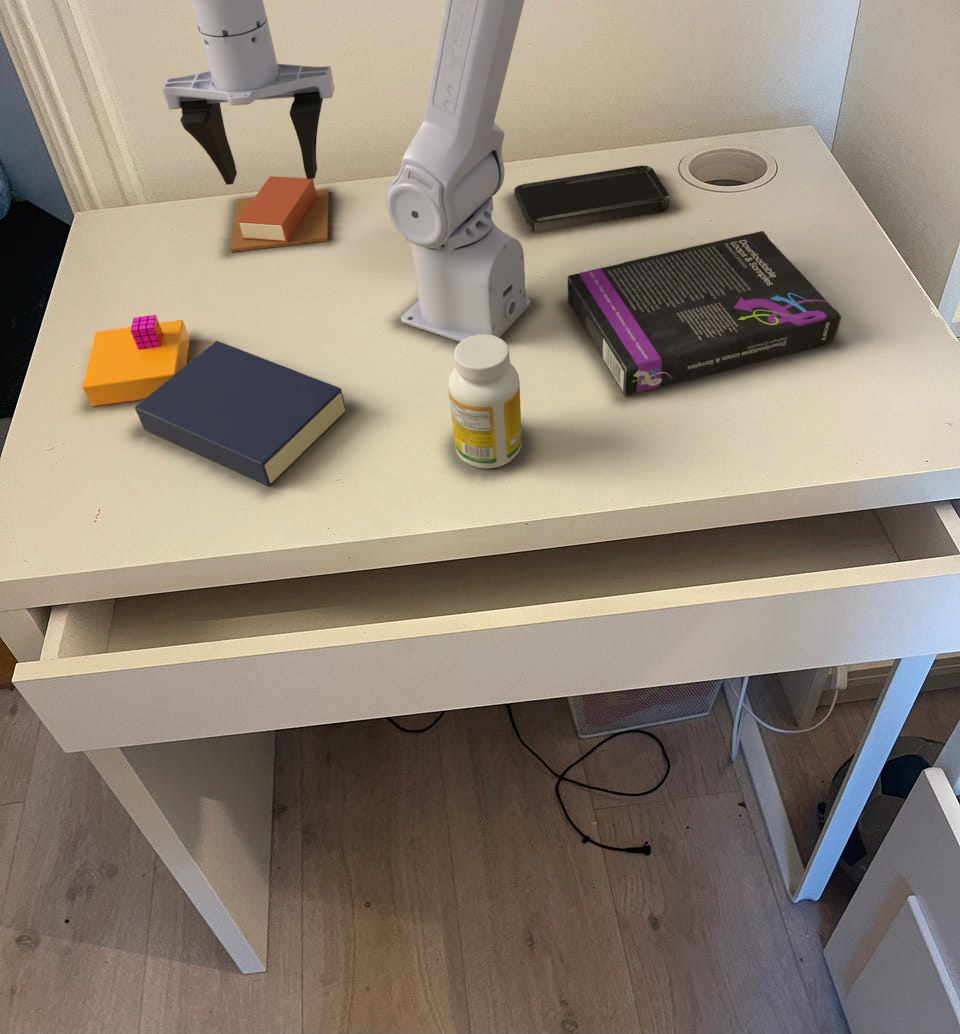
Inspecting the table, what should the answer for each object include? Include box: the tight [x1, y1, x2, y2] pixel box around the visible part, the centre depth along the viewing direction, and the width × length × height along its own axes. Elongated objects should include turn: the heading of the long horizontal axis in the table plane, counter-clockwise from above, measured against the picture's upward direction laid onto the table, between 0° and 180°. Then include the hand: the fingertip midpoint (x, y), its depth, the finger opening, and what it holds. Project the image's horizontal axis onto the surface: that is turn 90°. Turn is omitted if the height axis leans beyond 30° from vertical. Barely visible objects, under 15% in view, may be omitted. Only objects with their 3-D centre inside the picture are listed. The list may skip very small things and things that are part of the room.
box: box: [567, 230, 843, 397], centre depth 83 cm, size 14×4×20 cm
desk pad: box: [230, 188, 329, 253], centre depth 101 cm, size 10×10×1 cm
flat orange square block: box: [82, 314, 191, 407], centre depth 84 cm, size 8×8×4 cm
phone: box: [513, 164, 671, 233], centre depth 99 cm, size 8×1×15 cm
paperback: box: [238, 175, 317, 242], centre depth 100 cm, size 9×5×2 cm, turn 167°
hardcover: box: [134, 340, 347, 488], centre depth 79 cm, size 14×10×3 cm
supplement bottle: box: [447, 334, 523, 469], centre depth 72 cm, size 5×5×10 cm
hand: (271, 176), depth 89 cm, fingers open, 7 cm apart
